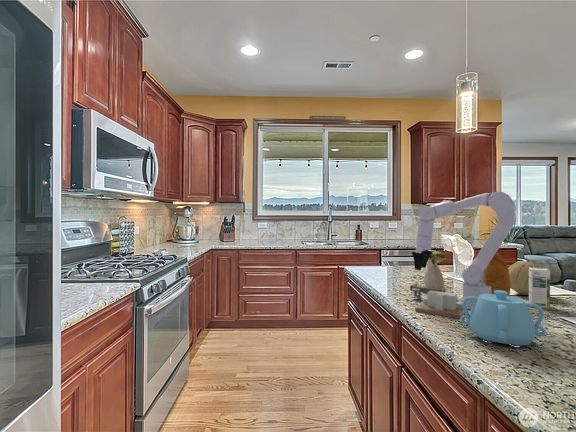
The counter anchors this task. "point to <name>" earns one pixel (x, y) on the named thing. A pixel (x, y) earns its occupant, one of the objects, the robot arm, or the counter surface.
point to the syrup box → (539, 287)
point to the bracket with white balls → (423, 290)
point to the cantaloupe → (521, 276)
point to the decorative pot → (502, 319)
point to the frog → (435, 272)
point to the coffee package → (497, 274)
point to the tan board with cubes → (441, 304)
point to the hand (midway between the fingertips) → (420, 268)
